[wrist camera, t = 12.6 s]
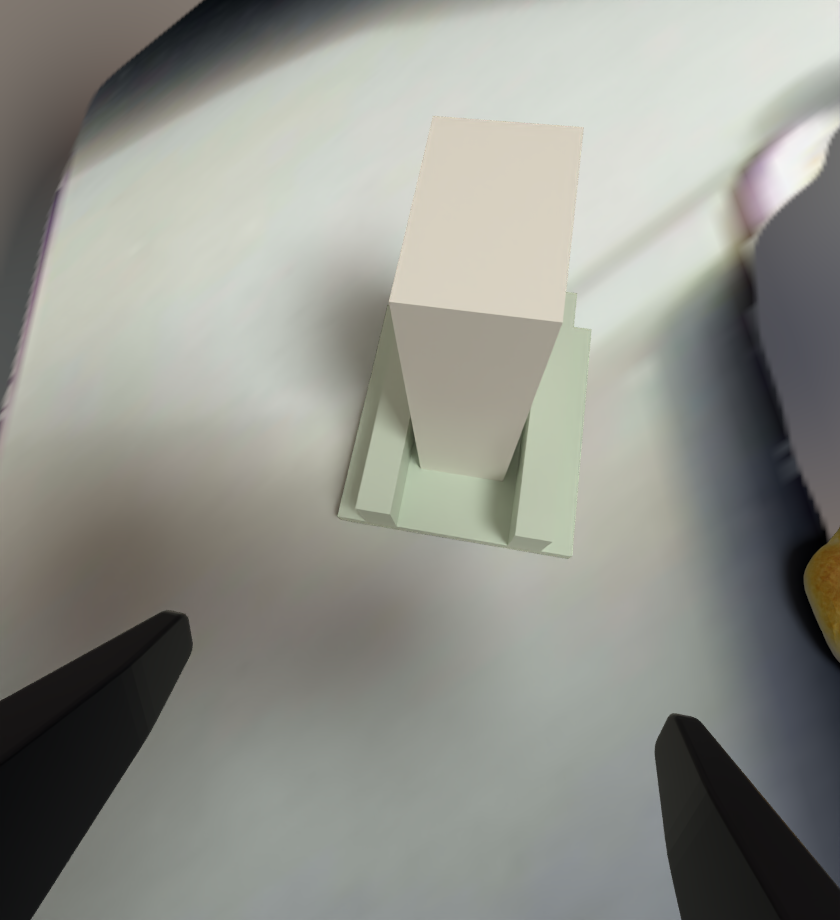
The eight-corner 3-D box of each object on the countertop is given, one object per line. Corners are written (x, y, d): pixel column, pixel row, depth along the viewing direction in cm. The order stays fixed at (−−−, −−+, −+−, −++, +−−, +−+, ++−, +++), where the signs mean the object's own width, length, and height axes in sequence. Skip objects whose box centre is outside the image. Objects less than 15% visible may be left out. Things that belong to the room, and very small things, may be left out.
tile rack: (567, 558, 23) (588, 548, 19) (340, 519, 24) (323, 503, 21) (587, 337, 26) (607, 296, 23) (389, 313, 27) (380, 271, 24)
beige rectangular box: (503, 481, 23) (562, 322, 11) (420, 468, 24) (388, 301, 11) (517, 370, 25) (583, 127, 13) (441, 360, 25) (433, 115, 13)
